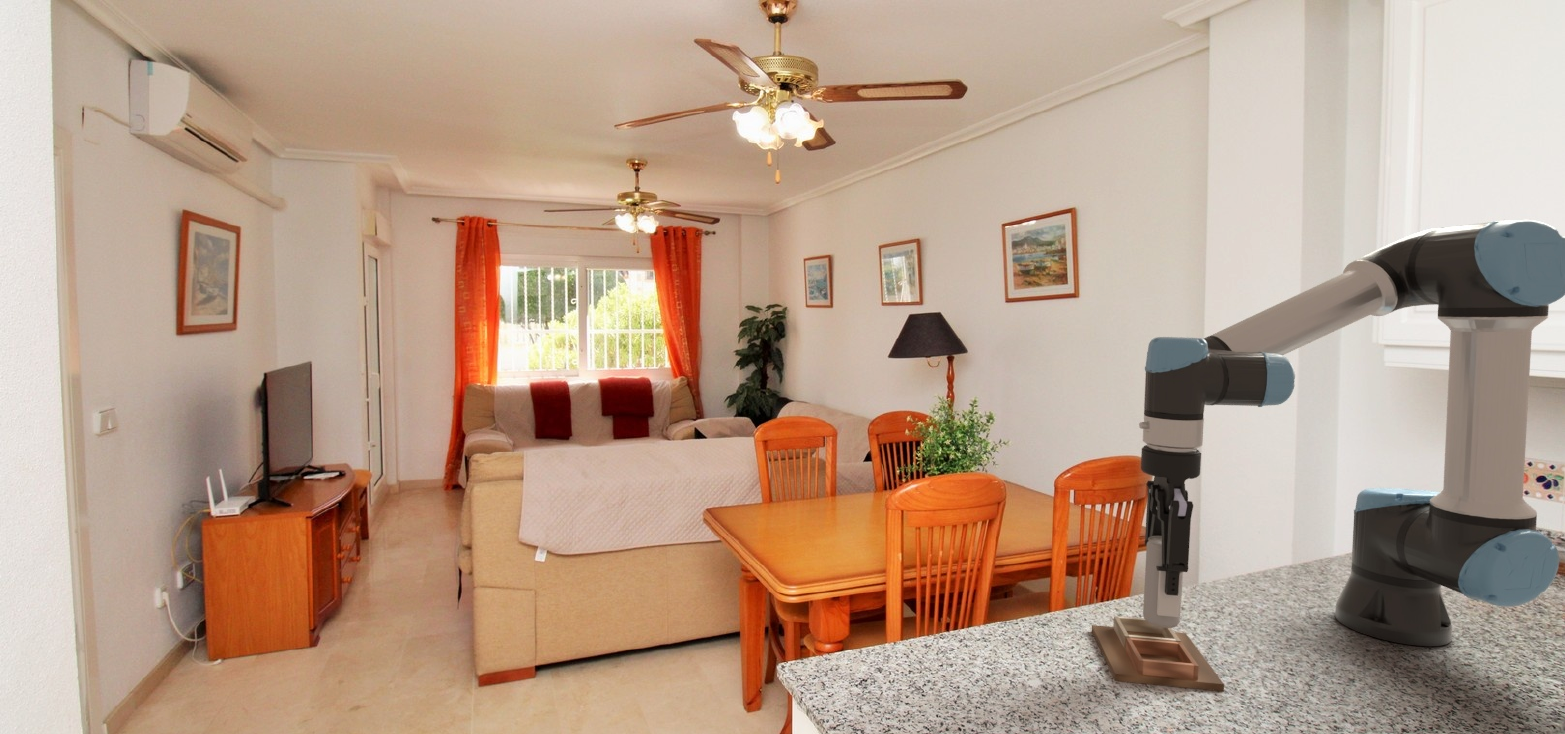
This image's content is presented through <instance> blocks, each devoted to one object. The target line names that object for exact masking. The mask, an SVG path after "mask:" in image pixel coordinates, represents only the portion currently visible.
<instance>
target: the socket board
mask: <svg viewBox="0 0 1565 734" xmlns="http://www.w3.org/2000/svg"><path fill="white" fill-rule="evenodd" d="M1091 633H1092V634H1093V637H1094V640H1095V641H1096V643H1097V645H1098V648H1099V650H1100V652H1101V654H1102V656H1103V659H1104V660H1105V662H1106V665H1107V667H1108V670H1109V672H1110V673H1111V675H1112V678H1113V680H1114V681H1115V682H1116V681H1117V682H1125V683H1136V684H1145V685H1147V684H1148V685H1156V686H1165V687H1177V688H1187V689H1196V690H1197V689H1199V690H1208V691H1218V692H1224V691H1225V682H1223V681H1222V679H1221V678H1220V677H1219V676H1218V674H1217V673H1216V671H1215V670H1214V669H1213V668H1212V666H1211V665H1210V664H1209V662H1208V660H1206V658H1205V657H1204V655H1203V654H1202V652H1200V650H1199V649H1198V647H1197V646H1196V644H1195V643H1194V642H1193V641H1192V639H1191V638H1190V637H1189V636H1188V634H1187V633H1186V632H1178V631H1176V632H1175V631H1174V630H1173V628H1162V627H1157V626H1154V625H1152V624H1150V623H1148V622H1147V621H1146V620H1145V619H1144V617H1143V618H1141V617H1139V618H1138V617H1128V616H1119V615H1118V616H1116V615H1114V616H1113V626H1106V625H1095V624H1092V625H1091Z"/></svg>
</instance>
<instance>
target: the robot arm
mask: <svg viewBox="0 0 1565 734" xmlns="http://www.w3.org/2000/svg"><path fill="white" fill-rule="evenodd" d="M1564 296H1565V236H1564V235H1562V234H1560V232H1559V231H1558V229H1556V228H1555V227H1554V226H1552V225H1550V224H1548V223H1545V222H1542V221H1538V220H1531V219H1523V220H1520V219H1517V220H1508V219H1502V220H1498V221H1497V220H1496V221H1490V222H1482V223H1474V224H1465V225H1456V226H1449V227H1447V226H1446V227H1436V228H1430V229H1426V230H1423V231H1420V232H1416V233H1413V234H1411V235H1409V236H1405V237H1404V238H1401V239H1399V240H1397V241H1394V242H1392V243H1389V244H1387V245H1386V246H1383V247H1381V248H1379V249H1377V250H1375V251H1373V252H1370V253H1369V254H1366V255H1364V256H1362V257H1360V258H1358V259H1356V260H1353V261H1351V262H1350V263H1348V264H1347V265H1346V266H1345V268H1344V269H1343V272H1342V273H1341V274H1339V275H1337V276H1335V277H1333V278H1330V279H1329V280H1326V281H1325V282H1321V283H1319V284H1318V285H1316V286H1313V287H1311V288H1309V289H1307V290H1304V291H1302V292H1301V293H1298V294H1296V295H1294V296H1291V297H1289V298H1288V299H1286V300H1284V301H1281V302H1279V303H1277V304H1275V305H1273V306H1271V307H1268V308H1266V309H1265V310H1262V311H1260V312H1258V313H1255V314H1253V315H1252V316H1250V317H1249V316H1248V318H1245V319H1243V320H1241V321H1239V322H1237V323H1234V324H1232V325H1231V326H1229V327H1226V328H1224V329H1222V330H1220V331H1218V332H1216V333H1213V334H1210V335H1209V336H1206V337H1204V338H1202V337H1201V338H1200V337H1178V336H1177V337H1175V336H1174V337H1173V336H1158V337H1157V336H1156V337H1154V338H1153V339H1151V340H1150V341H1149V342H1148V347H1147V353H1146V358H1145V359H1146V360H1145V366H1144V371H1145V378H1144V379H1145V381H1144V400H1143V401H1144V403H1143V407H1144V409H1143V421H1142V422H1139V423H1138V425H1139V426H1138V428H1140V429H1141V430H1142V442H1143V443H1145V445H1144V446H1143V447H1142V448H1141V459H1140V470H1141V471H1142V472H1143V473H1145V474H1146V475H1148V476H1152V477H1153V480H1147V483H1146V488H1147V491H1146V492H1147V494H1146V495H1147V496H1146V497H1147V499H1146V500H1147V501H1146V518H1145V533H1144V534H1145V535H1144V546H1145V547H1147V542H1148V541H1149V540H1148V538H1149V537H1151V536H1162V566H1156V568H1157V571H1159V582H1158V600H1157V614H1158V615H1160V616H1171V617H1179V611H1180V593H1181V576H1182V572H1183V573H1188V571H1189V556H1190V539H1191V521H1192V514H1193V510H1194V504H1193V501H1192V500H1190V501H1189V494H1188V493H1189V492H1188V490H1186V484H1185V483H1186V480H1187V481H1188V480H1189V479H1190V480H1192V479H1197V478H1199V476H1200V475H1201V466H1202V465H1201V464H1202V463H1201V462H1202V453H1201V451H1200V450H1199V449H1200V448H1201V447H1202V446H1203V441H1204V440H1203V439H1204V438H1203V437H1204V424H1205V422H1204V420H1205V418H1204V412H1205V406H1242V407H1243V406H1247V407H1249V406H1250V407H1258V408H1262V407H1264V406H1265V407H1266V406H1279V405H1281V404H1283V403H1285V402H1286V401H1288V399H1289V398H1290V397H1291V395H1292V394H1293V391H1294V389H1295V378H1296V374H1295V368H1294V367H1293V364H1292V363H1291V361H1290V360H1289V359H1288V358H1287V357H1285V355H1287V354H1289V353H1291V352H1293V351H1295V350H1297V349H1300V348H1302V347H1303V346H1304V347H1305V346H1306V345H1308V344H1311V343H1312V342H1314V341H1316V340H1319V339H1321V338H1323V337H1325V336H1328V335H1329V334H1331V333H1334V332H1335V331H1338V330H1341V329H1342V328H1345V327H1347V326H1349V325H1351V324H1353V323H1356V322H1358V321H1360V320H1363V319H1364V318H1367V317H1368V316H1374V317H1384V316H1387V315H1389V314H1391V313H1393V312H1395V311H1397V310H1401V309H1405V308H1410V307H1417V306H1429V305H1430V306H1433V305H1436V306H1438V307H1437V319H1438V320H1439V321H1440V322H1441V323H1443V324H1444V325H1445V326H1446V327H1448V329H1449V330H1450V337H1449V338H1450V340H1449V358H1448V359H1449V361H1448V383H1447V387H1448V388H1447V401H1446V403H1447V404H1446V405H1447V406H1446V424H1445V443H1444V444H1445V447H1444V448H1445V449H1444V451H1445V452H1444V467H1443V469H1444V471H1443V490H1442V491H1441V492H1440V491H1433V490H1426V489H1424V490H1422V489H1412V488H1392V487H1389V488H1388V487H1387V488H1384V487H1383V488H1382V487H1378V488H1377V487H1375V488H1366V489H1363V490H1361V491H1360V492H1359V493H1358V494H1357V496H1356V503H1355V509H1353V531H1352V548H1351V550H1352V551H1351V570H1350V574H1349V576H1348V579H1347V581H1346V582H1345V584H1344V587H1343V589H1342V590H1341V592H1340V594H1339V597H1338V598H1337V600H1336V603H1335V610H1334V611H1335V613H1334V617H1335V619H1336V620H1337V621H1338V622H1339V623H1340V624H1342V625H1343V626H1345V627H1347V628H1348V629H1350V630H1353V631H1355V632H1358V633H1361V634H1364V635H1367V636H1369V637H1373V638H1376V639H1379V640H1383V641H1387V642H1393V643H1398V644H1403V645H1409V646H1417V647H1419V646H1420V647H1439V646H1440V647H1441V646H1445V645H1448V644H1450V643H1451V642H1452V637H1453V636H1452V634H1453V624H1452V622H1451V618H1450V615H1449V612H1448V609H1447V605H1446V603H1445V600H1444V599H1445V598H1444V595H1443V594H1442V587H1444V588H1447V589H1450V590H1451V591H1454V592H1457V593H1459V594H1461V595H1464V596H1465V597H1467V598H1468V599H1471V600H1475V601H1481V602H1484V603H1487V604H1490V605H1492V606H1496V607H1502V608H1511V607H1519V606H1523V605H1526V604H1527V603H1531V602H1532V601H1534V600H1536V599H1537V598H1538V597H1539V596H1540V595H1541V594H1542V593H1545V592H1546V591H1547V590H1548V589H1549V588H1550V586H1551V585H1552V583H1553V582H1554V580H1555V578H1556V576H1557V573H1558V571H1559V565H1560V555H1559V554H1560V553H1559V551H1558V548H1557V547H1556V545H1555V544H1553V541H1552V539H1551V538H1549V537H1548V536H1546V535H1545V534H1543V533H1542V532H1540V531H1537V516H1538V513H1537V510H1536V509H1535V508H1533V507H1532V506H1531V505H1530V504H1529V503H1527V501H1526V500H1524V498H1523V496H1524V482H1525V481H1524V480H1525V466H1526V465H1525V462H1526V459H1525V458H1526V445H1527V441H1526V440H1527V424H1528V423H1527V422H1528V407H1529V406H1528V405H1529V388H1530V387H1529V386H1530V368H1531V352H1532V351H1531V350H1532V333H1533V330H1534V329H1535V328H1536V327H1538V326H1539V325H1540V324H1542V323H1543V322H1544V321H1546V320H1547V319H1548V318H1549V306H1550V305H1551V304H1552V303H1555V302H1557V301H1559V300H1560V299H1562V298H1563V297H1564ZM1180 612H1181V611H1180Z"/></svg>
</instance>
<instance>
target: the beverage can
mask: <svg viewBox="0 0 1565 734" xmlns="http://www.w3.org/2000/svg"><path fill="white" fill-rule="evenodd" d="M1148 540H1149V541H1148V542H1147V546H1146V553H1145V567H1144V568H1145V573H1144V587H1143V588H1144V591H1143V592H1144V593H1143V606H1142V607H1143V608H1142V616H1143V619H1145V620H1146V621H1147V622H1148V623H1150V624H1152V625H1154V626H1157V627H1162V628H1172V629H1174V628H1176V627H1177V626H1178V625H1179V623H1180V621H1181V608H1182V594H1183V593H1182V592H1183V579H1184V572H1182V576H1181V593H1180V611H1179V617H1171V616H1160V615H1158V614H1157V600H1158V582H1159V571H1157V568H1156V566H1162V536H1151V537H1149V538H1148Z"/></svg>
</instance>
